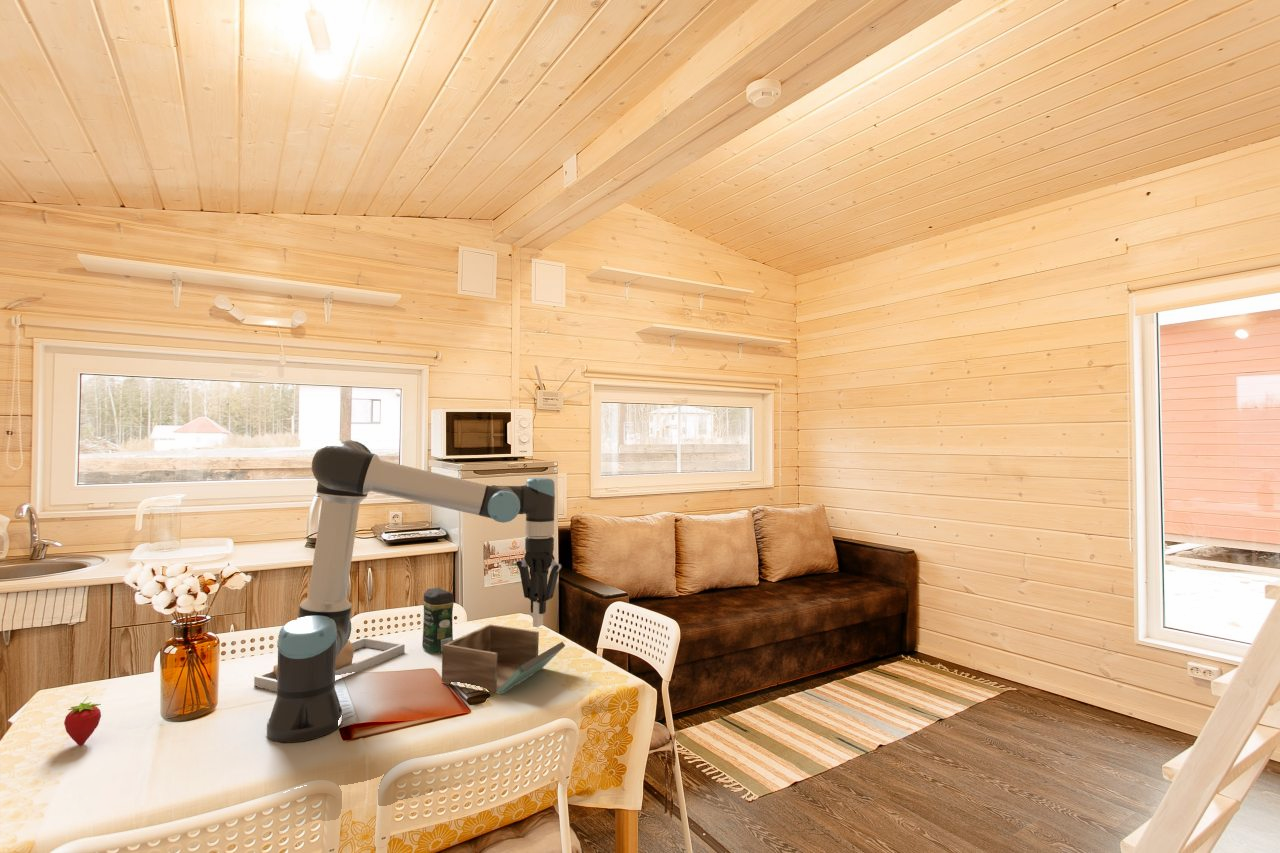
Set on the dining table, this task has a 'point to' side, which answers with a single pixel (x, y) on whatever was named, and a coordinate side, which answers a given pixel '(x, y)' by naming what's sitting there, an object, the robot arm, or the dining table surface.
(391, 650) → the serving tray
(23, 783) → the dining table surface
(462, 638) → the crate
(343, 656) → the squash
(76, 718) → the decorative fruit
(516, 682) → the panel
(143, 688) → the dining table surface
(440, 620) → the coffee jar
